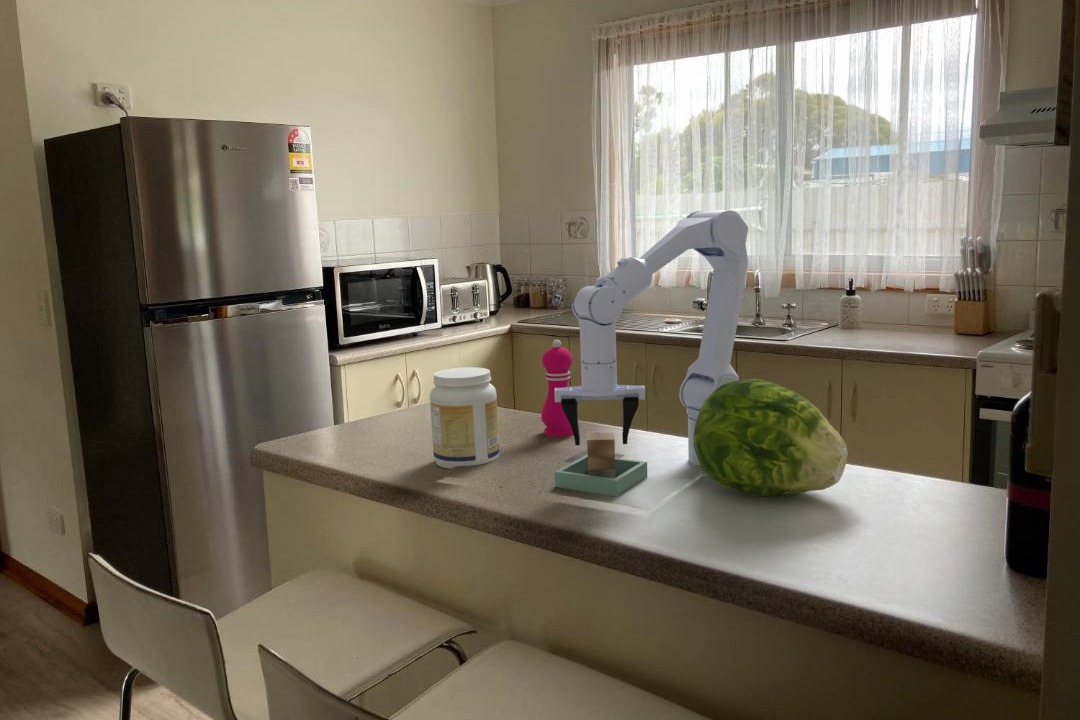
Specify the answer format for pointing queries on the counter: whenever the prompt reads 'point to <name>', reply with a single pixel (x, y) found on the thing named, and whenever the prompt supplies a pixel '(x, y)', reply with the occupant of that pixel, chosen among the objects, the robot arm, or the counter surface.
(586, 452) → the base
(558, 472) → the bin
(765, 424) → the lettuce
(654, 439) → the counter surface
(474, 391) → the supplement tub
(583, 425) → the counter surface
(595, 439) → the strut
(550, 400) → the pepper mill
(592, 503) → the counter surface
